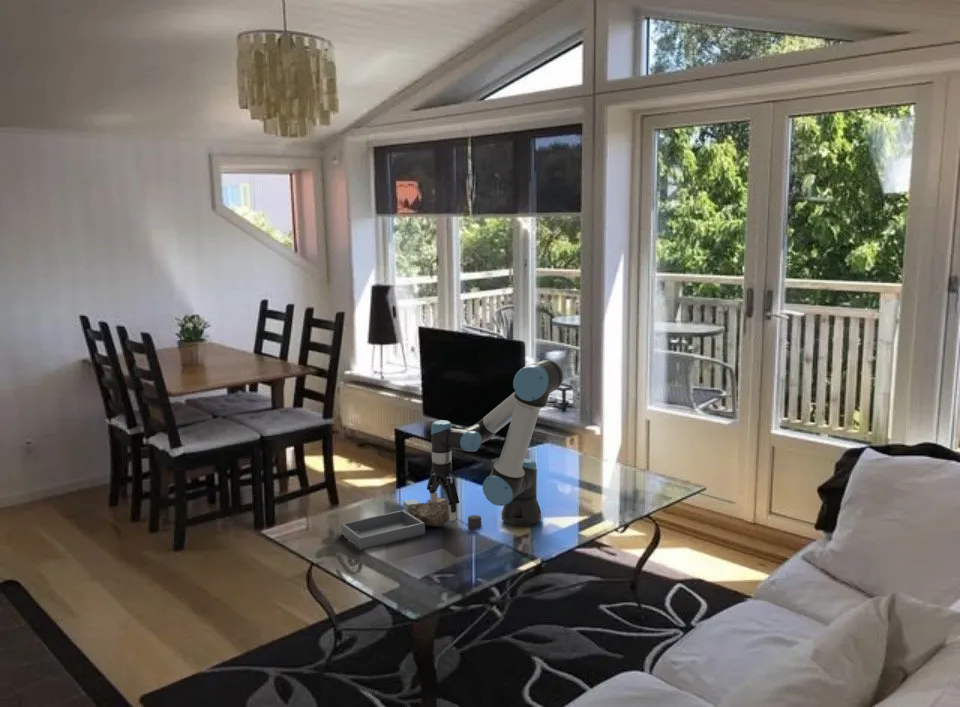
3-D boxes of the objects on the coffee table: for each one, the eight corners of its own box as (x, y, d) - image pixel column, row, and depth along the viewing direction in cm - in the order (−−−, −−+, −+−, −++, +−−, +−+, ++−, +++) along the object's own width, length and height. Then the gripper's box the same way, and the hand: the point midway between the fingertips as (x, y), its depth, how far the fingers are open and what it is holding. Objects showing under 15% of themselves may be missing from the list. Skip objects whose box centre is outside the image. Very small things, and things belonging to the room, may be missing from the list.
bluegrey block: (420, 517, 315) (419, 503, 314) (407, 519, 313) (407, 504, 312) (416, 513, 319) (415, 499, 318) (404, 515, 317) (403, 500, 316)
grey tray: (425, 534, 297) (424, 523, 296) (360, 550, 283) (360, 538, 282) (403, 520, 311) (403, 509, 310) (341, 535, 297) (340, 523, 297)
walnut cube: (446, 511, 321) (446, 499, 320) (437, 514, 318) (437, 502, 317) (437, 508, 325) (437, 496, 324) (428, 512, 321) (428, 500, 320)
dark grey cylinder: (483, 528, 303) (483, 518, 302) (472, 531, 300) (472, 520, 300) (476, 524, 307) (476, 514, 306) (465, 527, 304) (465, 516, 304)
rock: (458, 507, 309) (447, 494, 302) (455, 531, 302) (443, 517, 295) (418, 513, 315) (406, 500, 309) (414, 536, 309) (401, 523, 302)
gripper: (467, 468, 296) (468, 522, 299) (434, 451, 316) (435, 502, 320) (450, 471, 292) (451, 526, 295) (417, 454, 312) (418, 506, 316)
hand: (443, 514), depth 308 cm, fingers open, 13 cm apart
